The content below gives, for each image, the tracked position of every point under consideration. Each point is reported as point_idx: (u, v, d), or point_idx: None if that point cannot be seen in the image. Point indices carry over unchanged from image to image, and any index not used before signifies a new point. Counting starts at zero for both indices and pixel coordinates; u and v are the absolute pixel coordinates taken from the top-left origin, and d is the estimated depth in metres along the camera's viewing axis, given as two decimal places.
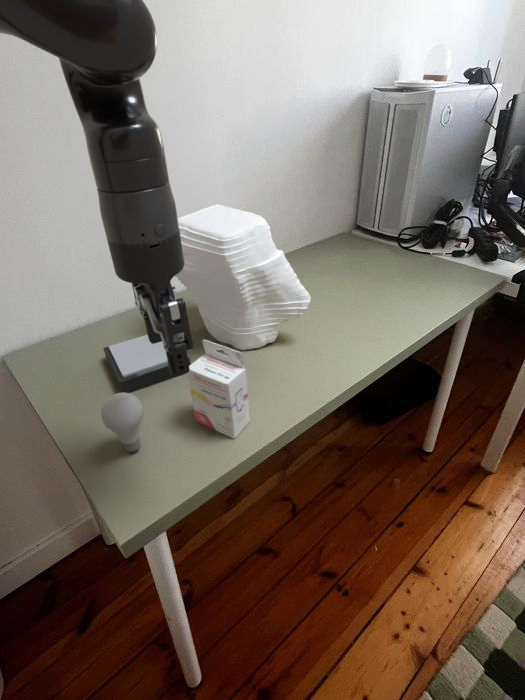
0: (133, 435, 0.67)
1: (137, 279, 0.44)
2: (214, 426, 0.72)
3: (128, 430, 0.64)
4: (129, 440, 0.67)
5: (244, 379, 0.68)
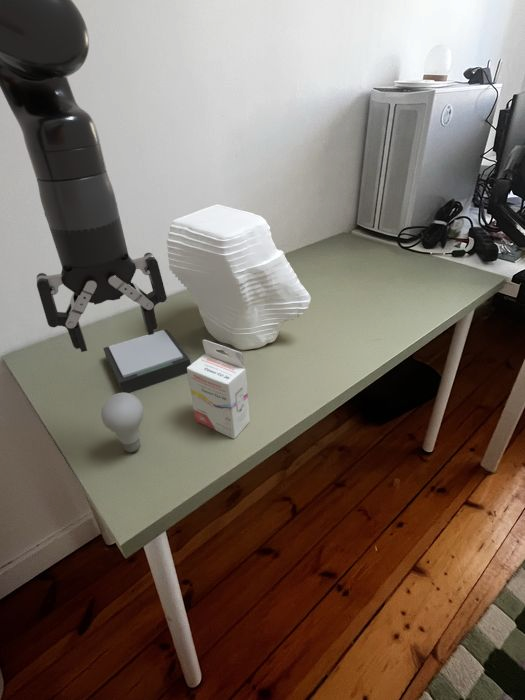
0: (133, 435, 0.67)
1: (122, 252, 0.49)
2: (214, 426, 0.72)
3: (128, 430, 0.64)
4: (129, 440, 0.67)
5: (244, 379, 0.68)
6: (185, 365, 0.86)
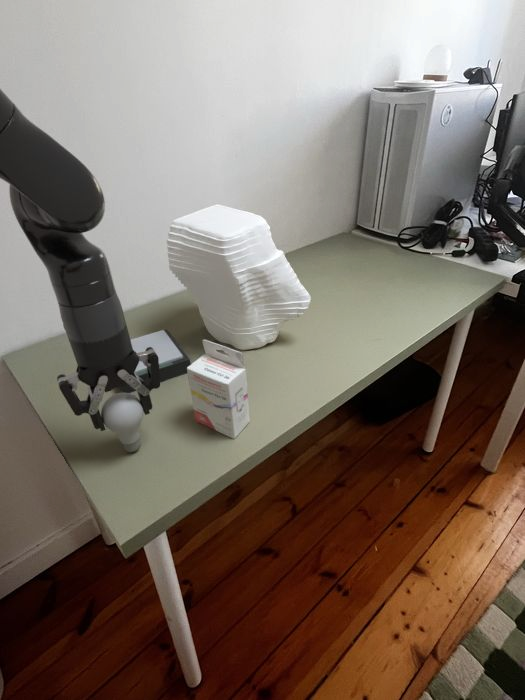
0: (133, 435, 0.67)
1: (129, 351, 0.59)
2: (214, 426, 0.72)
3: (128, 430, 0.64)
4: (129, 440, 0.67)
5: (244, 379, 0.68)
6: (185, 365, 0.86)
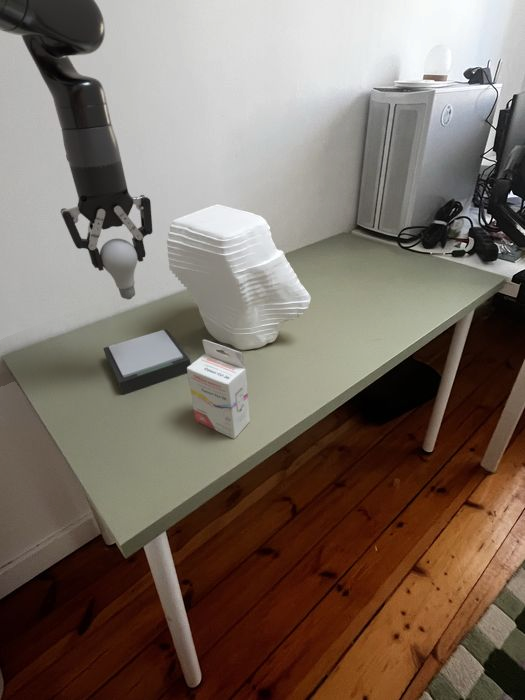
0: (128, 279, 0.74)
1: (124, 187, 0.67)
2: (214, 426, 0.72)
3: (124, 270, 0.72)
4: (125, 284, 0.75)
5: (244, 379, 0.68)
6: (185, 365, 0.86)
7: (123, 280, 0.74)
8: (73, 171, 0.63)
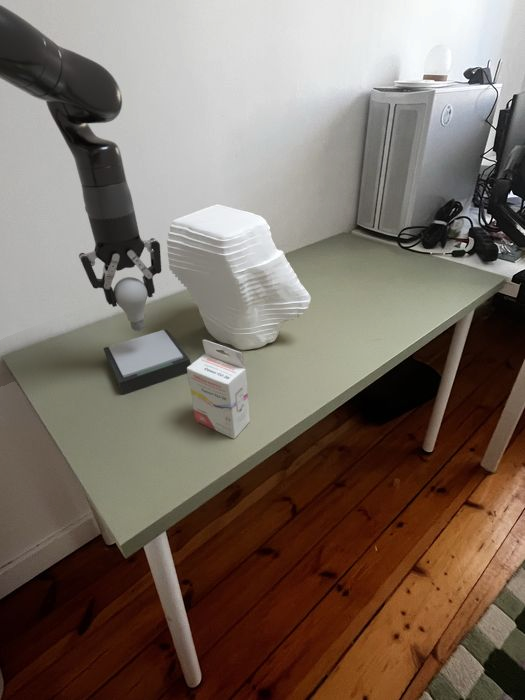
0: (139, 313, 0.82)
1: (137, 233, 0.74)
2: (214, 426, 0.72)
3: (135, 306, 0.79)
4: (136, 318, 0.82)
5: (244, 379, 0.68)
6: (185, 365, 0.86)
7: (134, 314, 0.81)
8: (91, 222, 0.70)
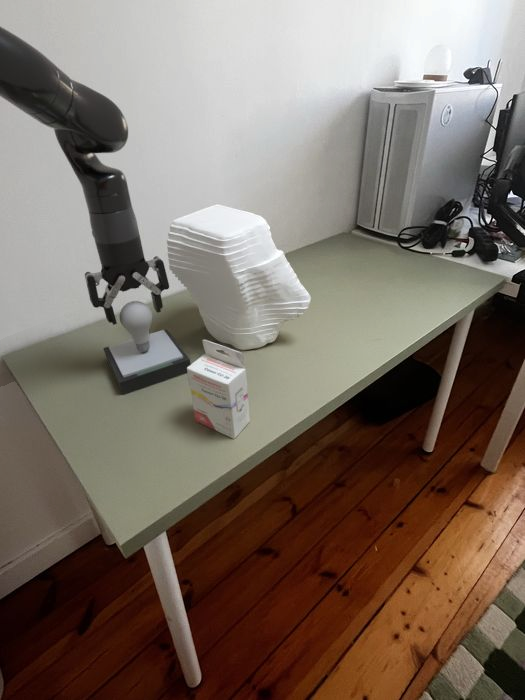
0: (144, 336, 0.84)
1: (142, 256, 0.76)
2: (214, 426, 0.72)
3: (141, 329, 0.82)
4: (141, 340, 0.84)
5: (244, 379, 0.68)
6: (185, 365, 0.86)
7: (140, 337, 0.84)
8: (98, 246, 0.73)
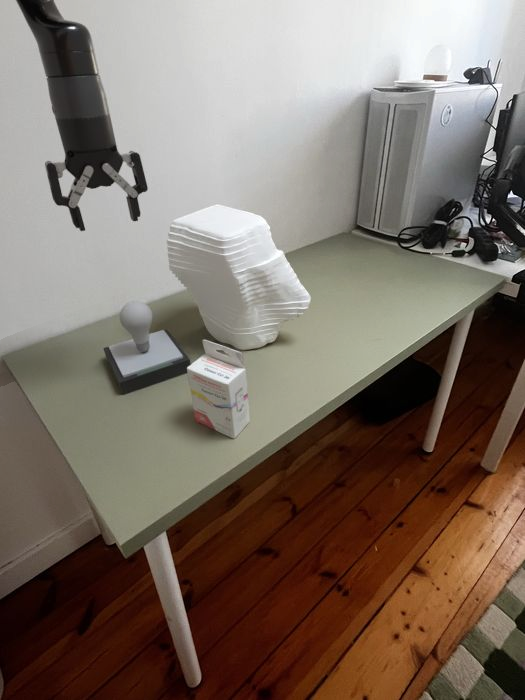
0: (144, 336, 0.84)
1: (113, 143, 0.64)
2: (214, 426, 0.72)
3: (141, 329, 0.82)
4: (141, 340, 0.84)
5: (244, 379, 0.68)
6: (185, 365, 0.86)
7: (140, 337, 0.84)
8: (59, 124, 0.61)
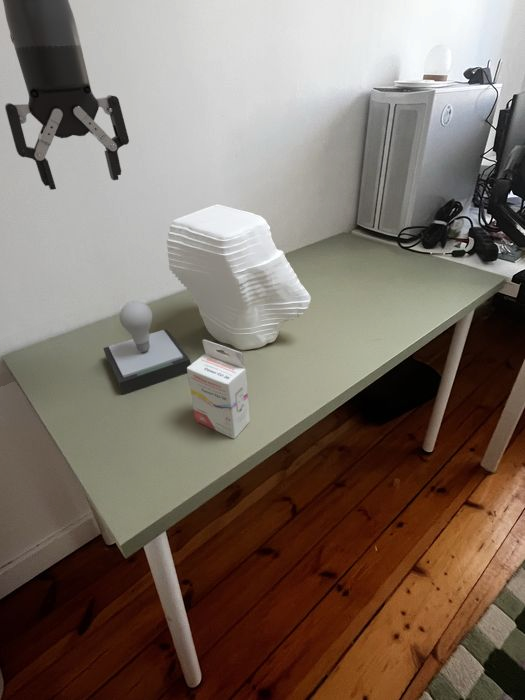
0: (144, 336, 0.84)
1: (85, 81, 0.54)
2: (214, 426, 0.72)
3: (141, 329, 0.82)
4: (141, 340, 0.84)
5: (244, 379, 0.68)
6: (185, 365, 0.86)
7: (140, 337, 0.84)
8: (19, 54, 0.51)
